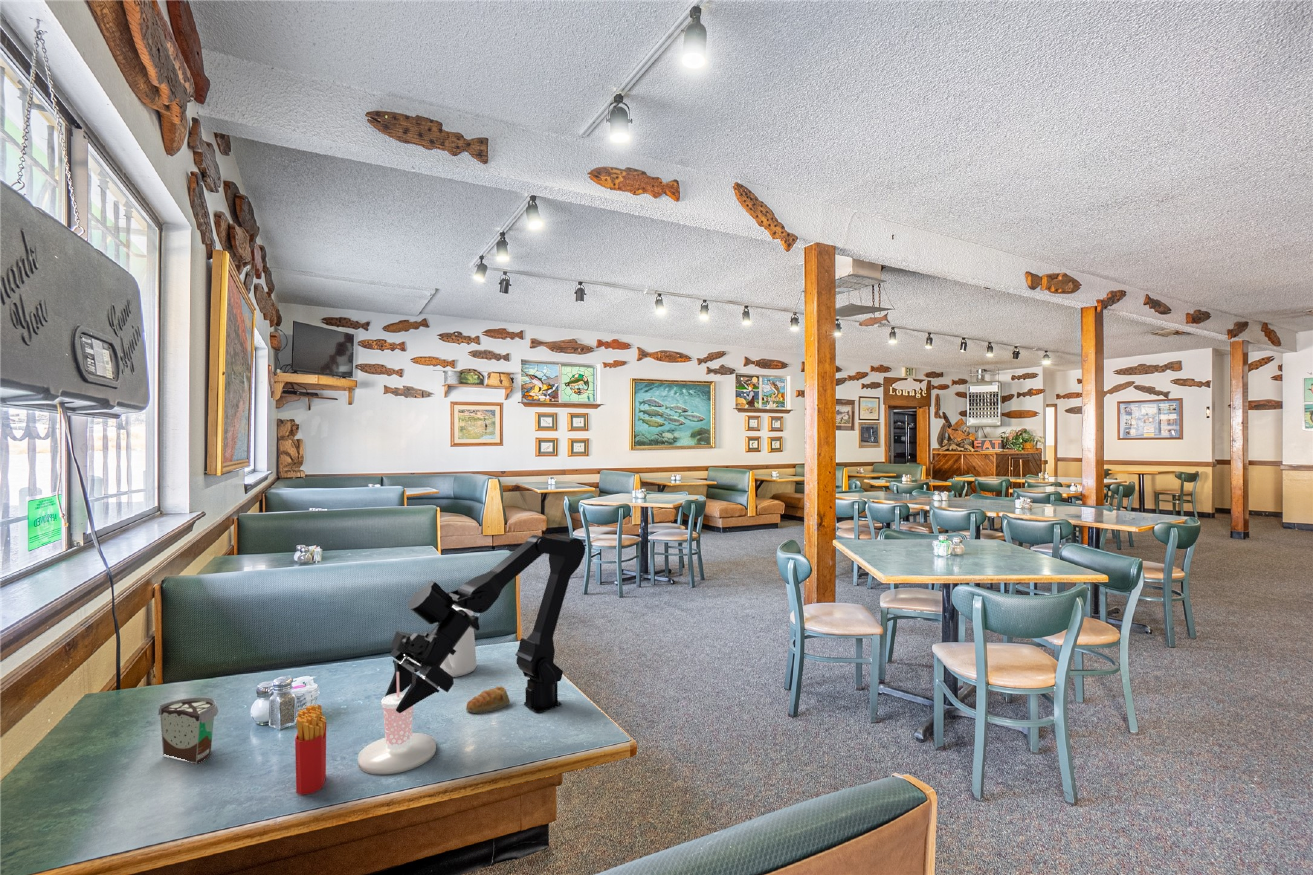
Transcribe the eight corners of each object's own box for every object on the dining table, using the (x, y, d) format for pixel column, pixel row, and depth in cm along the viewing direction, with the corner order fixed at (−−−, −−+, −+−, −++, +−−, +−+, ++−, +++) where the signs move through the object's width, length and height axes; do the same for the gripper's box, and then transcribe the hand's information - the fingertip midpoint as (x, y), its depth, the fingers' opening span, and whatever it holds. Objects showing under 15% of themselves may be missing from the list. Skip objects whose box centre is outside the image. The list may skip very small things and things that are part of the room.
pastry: (475, 718, 138) (474, 701, 138) (460, 710, 143) (460, 693, 143) (512, 705, 144) (511, 689, 144) (496, 698, 149) (496, 682, 149)
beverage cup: (385, 738, 124) (384, 668, 124) (418, 735, 125) (417, 665, 125) (378, 753, 118) (377, 679, 118) (412, 749, 119) (411, 676, 119)
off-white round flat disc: (421, 732, 131) (421, 726, 131) (447, 757, 120) (447, 750, 120) (349, 754, 122) (349, 747, 122) (370, 783, 111) (370, 776, 111)
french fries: (320, 794, 108) (320, 718, 108) (292, 799, 106) (292, 722, 107) (328, 768, 116) (328, 698, 117) (303, 773, 115) (302, 702, 115)
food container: (233, 750, 124) (233, 700, 124) (202, 765, 118) (202, 712, 118) (190, 741, 128) (190, 692, 128) (157, 755, 122) (157, 704, 123)
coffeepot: (484, 654, 181) (483, 589, 181) (467, 687, 156) (467, 611, 156) (445, 656, 179) (445, 590, 180) (422, 689, 154) (422, 613, 155)
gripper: (398, 606, 131) (343, 673, 123) (436, 623, 117) (377, 700, 110) (435, 635, 136) (385, 701, 129) (476, 655, 123) (422, 730, 115)
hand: (391, 707), depth 120 cm, fingers closed on beverage cup, 6 cm apart
